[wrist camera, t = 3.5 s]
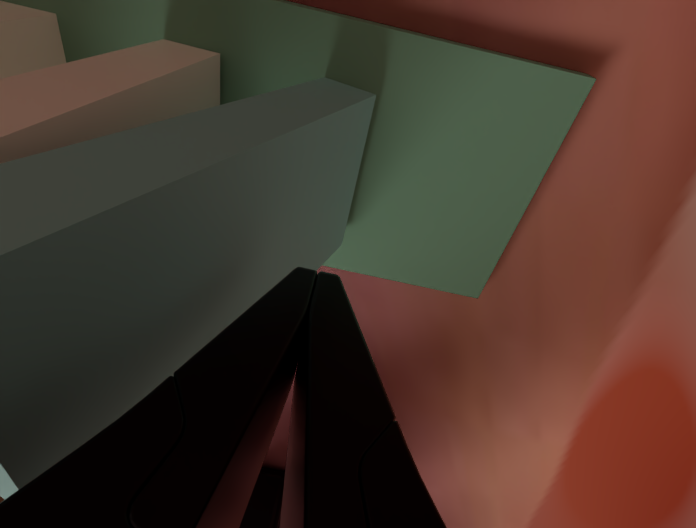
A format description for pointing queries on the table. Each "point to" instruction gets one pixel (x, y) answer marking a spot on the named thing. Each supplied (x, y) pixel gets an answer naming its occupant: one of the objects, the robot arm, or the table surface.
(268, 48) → the baize strip
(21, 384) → the domino
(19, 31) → the domino
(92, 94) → the domino
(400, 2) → the table surface
